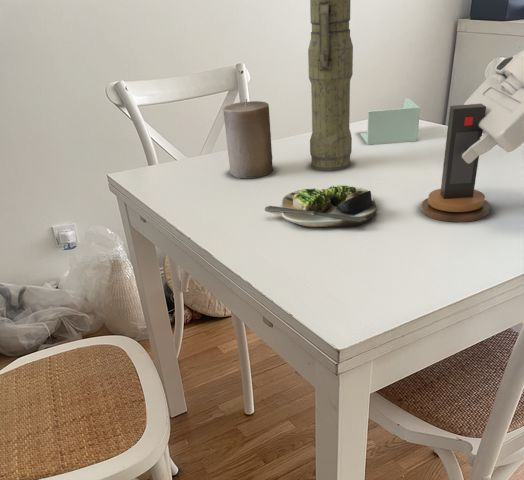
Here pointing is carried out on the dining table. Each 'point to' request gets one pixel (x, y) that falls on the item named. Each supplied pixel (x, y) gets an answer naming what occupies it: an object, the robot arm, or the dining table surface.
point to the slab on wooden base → (460, 162)
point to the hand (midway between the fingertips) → (457, 153)
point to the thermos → (330, 84)
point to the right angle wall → (393, 124)
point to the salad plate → (327, 207)
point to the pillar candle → (248, 139)
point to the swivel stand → (455, 213)
